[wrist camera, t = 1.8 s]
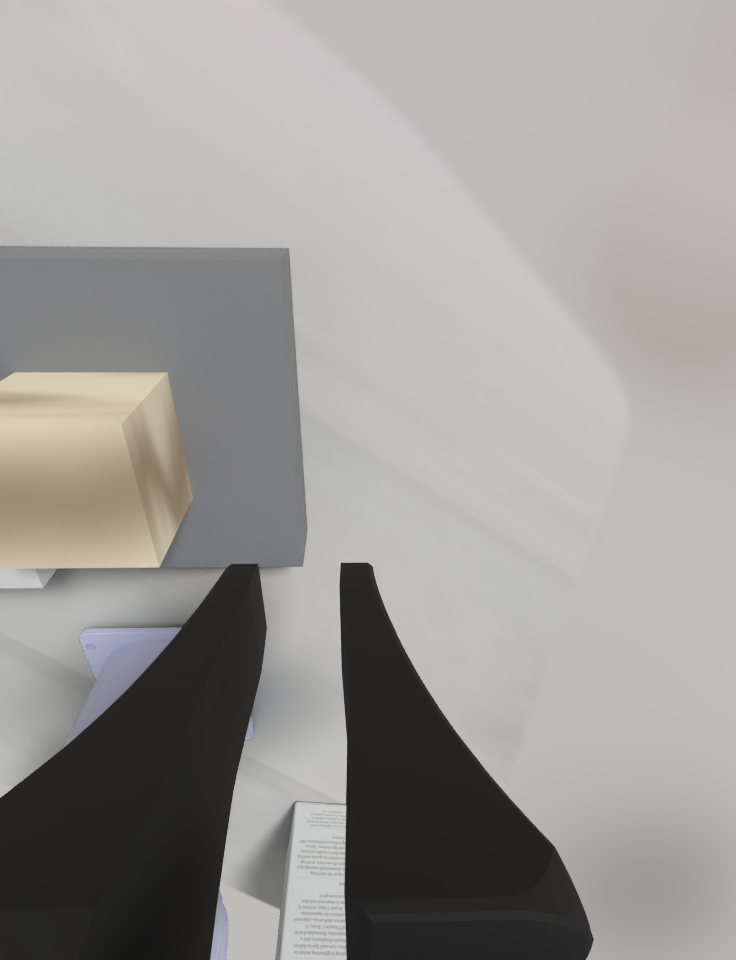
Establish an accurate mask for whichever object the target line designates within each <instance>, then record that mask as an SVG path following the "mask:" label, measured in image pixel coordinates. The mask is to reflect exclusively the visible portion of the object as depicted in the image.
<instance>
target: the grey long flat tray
mask: <svg viewBox="0 0 736 960" xmlns="http://www.w3.org/2000/svg"><path fill="white" fill-rule="evenodd" d="M15 372H135V373H168V377H169V382H170V387H171V392H172V397H173V402H174V407H175V412H176V417H177V422H178V427H179V431H180V436H181V441H182V446H183V451H184V456H185V461H186V466H187V471H188V476H189V481H190V486H191V491H192V496H193V499H192V501H191V503H190V505H189V507H188V509H187V511H186V513H185V515H184V517H183V520H182V522H181V524H180V526H179V528H178V530H177V532H176V534H175V536H174V538H173V540H172V542H171V544H170V547H169V549H168V551H167V553H166V555H165V557H164V559H163V561H162V563H161V565H160V567H159V568H196V567H228V566H229V565H230V564H258V566H259V567H303V560H304V552H305V545H306V537H307V519H306V504H305V488H304V473H303V458H302V442H301V427H300V412H299V397H298V381H297V366H296V351H295V336H294V320H293V305H292V290H291V275H290V259H289V248H157V247H13V246H0V381H2V380H3V379H5V378H6V377H8V376H10V375H11V374H13V373H15ZM57 569H81V568H50V569H0V588H44V586H45V585H46V584H47V582H48V581H49V579H50V578H51V577H52V575H53V574H54V573H55V571H56V570H57Z"/></svg>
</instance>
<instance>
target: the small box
mask: <svg viewBox="0 0 736 960" xmlns="http://www.w3.org/2000/svg"><path fill="white" fill-rule="evenodd" d="M345 840H346V805H344V804H329V803H314V802H296V803H295V805H294V813H293V819H292V825H291V832H290V838H289V844H288V850H287V855H286V864H285V872H284V881H283V891H282V900H281V910H280V920H279V929H278V939H277V949H276V959H275V960H347V954H346V925H345V895H344V884H345Z"/></svg>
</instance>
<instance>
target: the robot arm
mask: <svg viewBox="0 0 736 960" xmlns="http://www.w3.org/2000/svg"><path fill="white" fill-rule="evenodd" d="M340 617H341V655H342V678H343V691H344V704H345V717H346V730H347V793H346V840H345V884H344V895H345V925H346V954H347V960H586V958H587V956H588V954H589V952H590V950H591V947H592V943H593V940H594V939H593V936H592V933H591V930H590V926H589V922H588V920H587V916H586V913H585V911H584V908H583V906H582V903H581V901H580V899H579V896H578V893H577V891H576V889H575V887H574V884H573V882H572V880H571V878H570V876H569V874H568V872H567V870H566V868H565V866H564V864H563V862H562V860H561V858H560V856H559V854H558V852H557V850H556V848H555V847H554V846H553V844H552V843H551V842H550V841H549V840H548V839H547V838H546V837H545V836H544V835H543V834H542V833H541V832H540V831H539V830H538V829H537V828H536V826H535V825H534V824H533V823H532V822H531V821H530V820H529V819H528V818H527V817H526V816H525V815H524V814H523V812H522V811H521V810H520V809H519V808H518V807H517V806H516V805H515V804H514V803H513V802H512V800H511V799H510V798H509V797H508V796H507V795H506V793H505V792H504V791H503V790H502V789H501V788H500V786H499V785H498V784H497V783H496V782H495V781H494V779H493V778H492V777H491V776H490V775H489V774H488V772H487V771H486V770H485V769H484V767H483V766H482V765H481V764H480V762H479V761H478V760H477V758H476V757H475V756H474V755H473V753H472V752H471V751H470V749H469V748H468V747H467V746H466V744H465V743H464V742H463V740H462V739H461V738H460V737H459V735H458V734H457V733H456V731H455V730H454V729H453V727H452V726H451V724H450V723H449V721H448V720H447V719H446V717H445V716H444V714H443V713H442V711H441V710H440V708H439V707H438V705H437V704H436V702H435V701H434V699H433V698H432V696H431V695H430V693H429V692H428V690H427V688H426V687H425V685H424V683H423V682H422V680H421V678H420V677H419V675H418V673H417V672H416V670H415V668H414V666H413V664H412V663H411V661H410V659H409V657H408V655H407V654H406V652H405V650H404V648H403V646H402V644H401V642H400V640H399V638H398V636H397V634H396V631H395V629H394V627H393V625H392V623H391V621H390V618H389V616H388V614H387V611H386V609H385V607H384V604H383V601H382V599H381V596H380V593H379V590H378V587H377V584H376V580H375V576H374V572H373V567H372V566H371V565H370V564H369V563H341V571H340ZM266 630H267V626H266V619H265V611H264V604H263V596H262V589H261V581H260V574H259V566H258V564H230V565H229V566H228V567H227V568H226V570H225V571H224V572H223V574H222V575H221V577H220V578H219V580H218V581H217V582H216V584H215V585H214V587H213V588H212V589H211V591H210V592H209V594H208V595H207V596H206V598H205V599H204V600H203V602H202V603H201V604H200V606H199V607H198V608H197V610H196V611H195V612H194V613H193V615H192V616H191V617H190V618H189V620H188V621H187V622H186V623H185V625H184V626H183V627H164V628H88V629H84V630H83V631H82V632H81V634H80V636H79V641H80V643H81V646H82V648H83V651H84V653H85V656H86V658H87V660H88V663H89V665H90V668H91V670H92V672H93V675H94V677H95V680H96V681H95V683H94V685H93V687H92V689H91V691H90V693H89V695H88V697H87V699H86V701H85V703H84V705H83V707H82V709H81V711H80V713H79V715H78V717H77V719H76V721H75V723H74V725H73V727H72V729H71V731H70V733H69V735H68V737H67V739H66V741H65V743H64V745H63V747H62V749H61V750H60V751H59V752H58V753H57V754H56V755H54V756H53V757H52V758H51V759H49V760H48V761H47V762H46V763H44V764H43V765H42V766H41V767H39V768H38V769H37V770H35V771H34V772H33V773H32V774H30V775H29V776H28V777H27V778H25V779H24V780H23V781H22V782H20V783H19V784H18V785H16V786H15V787H14V788H13V789H11V790H10V791H9V792H8V793H6V794H5V795H4V796H2V797H1V798H0V960H226V956H227V946H228V917H227V912H226V909H225V907H224V904H223V900H222V896H221V893H220V890H219V886H220V879H221V872H222V865H223V857H224V850H225V843H226V836H227V829H228V823H229V816H230V809H231V803H232V796H233V790H234V785H235V780H236V775H237V770H238V766H239V762H240V758H241V753H242V749H243V745H244V741H245V740H250V739H251V738H252V737H253V734H254V727H253V722H252V716H251V712H252V708H253V704H254V700H255V696H256V692H257V687H258V683H259V679H260V675H261V670H262V663H263V655H264V647H265V638H266Z"/></svg>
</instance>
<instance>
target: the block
mask: <svg viewBox="0 0 736 960" xmlns="http://www.w3.org/2000/svg"><path fill="white" fill-rule="evenodd" d="M192 499H193V496H192V491H191V486H190V481H189V476H188V471H187V466H186V461H185V456H184V451H183V446H182V441H181V436H180V431H179V427H178V422H177V417H176V412H175V407H174V402H173V397H172V392H171V387H170V382H169V377H168V373H135V372H15V373H13V374H11V375H10V376H8V377H6V378H5V379H3V380H2V381H0V569H50V568H159V567H160V565H161V563H162V561H163V559H164V557H165V555H166V553H167V551H168V549H169V547H170V544H171V542H172V540H173V538H174V536H175V534H176V532H177V530H178V528H179V526H180V524H181V522H182V520H183V517H184V515H185V513H186V511H187V509H188V507H189V505H190V503H191V501H192Z"/></svg>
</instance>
